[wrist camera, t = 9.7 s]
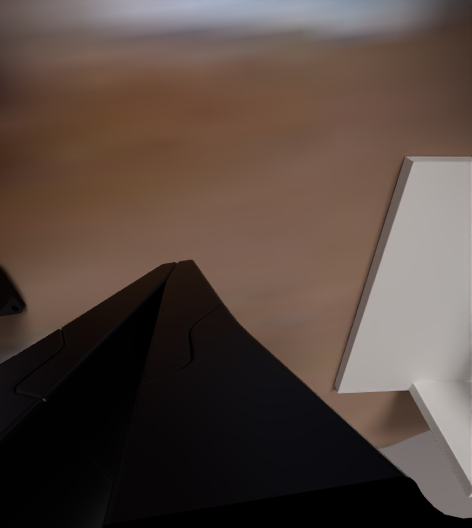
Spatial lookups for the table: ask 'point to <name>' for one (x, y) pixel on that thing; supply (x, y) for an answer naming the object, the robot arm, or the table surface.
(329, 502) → the robot arm
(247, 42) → the table surface
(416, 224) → the cabinet base
